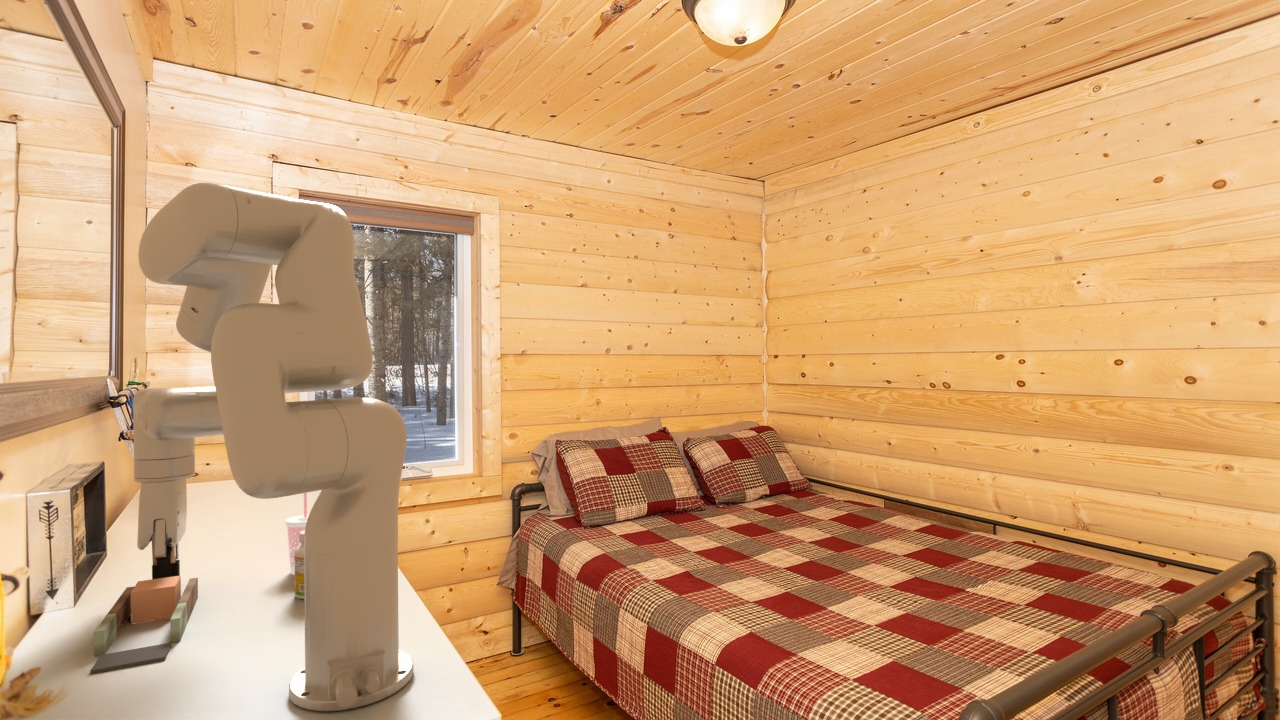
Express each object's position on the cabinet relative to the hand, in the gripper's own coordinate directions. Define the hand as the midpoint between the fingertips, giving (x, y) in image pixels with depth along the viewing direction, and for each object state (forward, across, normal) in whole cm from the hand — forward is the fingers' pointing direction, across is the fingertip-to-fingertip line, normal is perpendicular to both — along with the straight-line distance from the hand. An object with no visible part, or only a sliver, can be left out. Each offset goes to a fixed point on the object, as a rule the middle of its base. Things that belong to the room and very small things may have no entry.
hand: (166, 588), depth 99 cm
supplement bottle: (+2, +10, +20) cm, 22 cm away
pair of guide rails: (+1, +11, 0) cm, 11 cm away
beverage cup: (+2, -3, +19) cm, 19 cm away
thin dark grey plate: (+1, +23, 0) cm, 23 cm away
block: (+1, +8, 0) cm, 8 cm away
